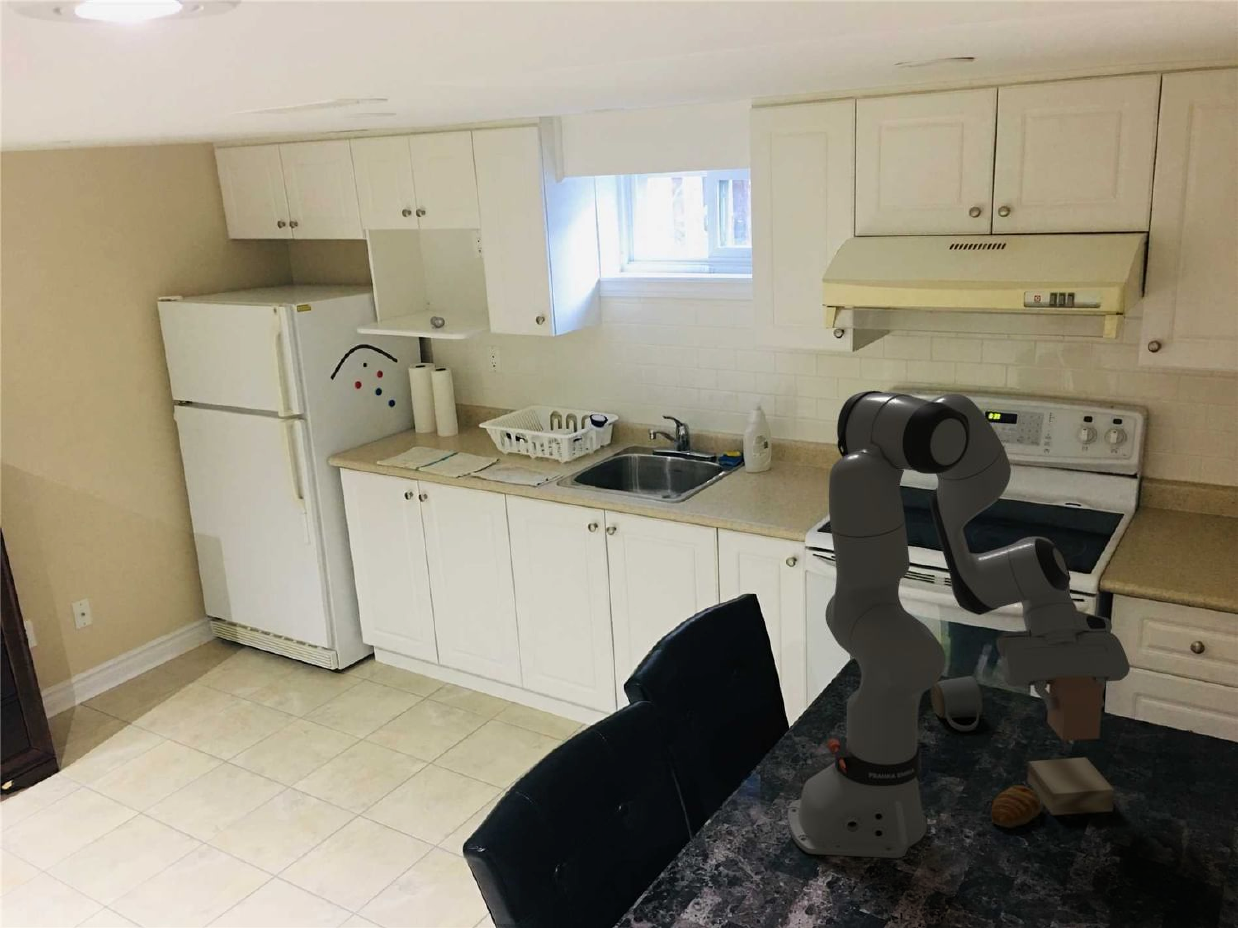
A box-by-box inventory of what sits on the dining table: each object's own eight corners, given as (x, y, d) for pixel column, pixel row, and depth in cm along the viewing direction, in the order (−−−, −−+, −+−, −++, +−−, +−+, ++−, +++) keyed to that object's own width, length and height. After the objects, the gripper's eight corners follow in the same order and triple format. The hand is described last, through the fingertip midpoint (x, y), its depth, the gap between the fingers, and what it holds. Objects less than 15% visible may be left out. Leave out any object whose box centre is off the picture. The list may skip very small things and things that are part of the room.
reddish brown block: (1062, 740, 170) (1066, 690, 167) (1047, 722, 175) (1050, 673, 173) (1099, 738, 170) (1102, 688, 167) (1082, 720, 175) (1086, 671, 173)
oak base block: (1052, 815, 171) (1053, 793, 170) (1027, 781, 181) (1028, 761, 180) (1112, 810, 171) (1114, 789, 170) (1084, 777, 181) (1085, 757, 180)
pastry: (1018, 837, 166) (1019, 816, 165) (979, 821, 171) (979, 800, 170) (1045, 811, 172) (1046, 791, 171) (1006, 796, 177) (1007, 777, 176)
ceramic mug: (928, 707, 208) (928, 672, 206) (968, 704, 208) (969, 669, 206) (947, 735, 198) (948, 698, 196) (989, 731, 198) (990, 695, 196)
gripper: (999, 625, 175) (1019, 705, 168) (1119, 618, 175) (1144, 698, 168) (988, 638, 180) (1007, 717, 173) (1105, 632, 181) (1129, 710, 174)
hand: (1076, 708), depth 171 cm, fingers closed on reddish brown block, 6 cm apart
